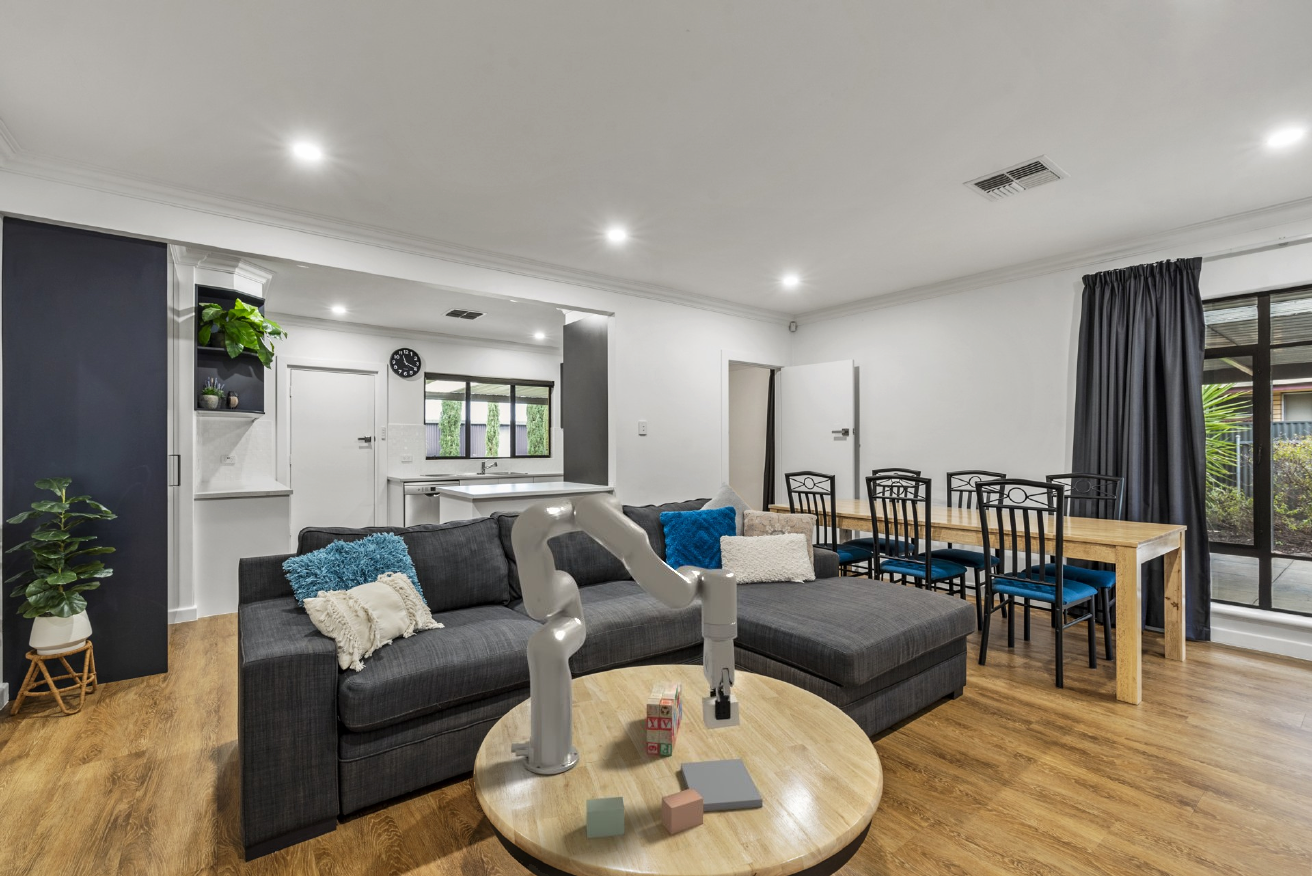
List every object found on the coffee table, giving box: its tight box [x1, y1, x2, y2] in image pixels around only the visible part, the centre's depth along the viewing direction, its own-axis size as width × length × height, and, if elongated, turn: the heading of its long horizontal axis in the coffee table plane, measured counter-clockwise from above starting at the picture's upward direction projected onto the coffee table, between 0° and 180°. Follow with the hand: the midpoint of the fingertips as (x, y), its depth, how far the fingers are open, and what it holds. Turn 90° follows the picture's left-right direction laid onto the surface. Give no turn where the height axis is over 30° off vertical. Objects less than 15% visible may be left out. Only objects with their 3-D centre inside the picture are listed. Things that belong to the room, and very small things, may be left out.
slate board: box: [680, 758, 763, 813], centre depth 133 cm, size 14×16×2 cm
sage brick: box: [585, 796, 625, 839], centre depth 118 cm, size 7×4×5 cm, turn 98°
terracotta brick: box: [661, 788, 704, 835], centre depth 120 cm, size 7×4×5 cm, turn 118°
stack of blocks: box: [645, 680, 683, 757], centre depth 157 cm, size 21×6×12 cm, turn 171°
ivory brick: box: [701, 693, 741, 730], centre depth 133 cm, size 7×4×5 cm, turn 98°
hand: (720, 713), depth 133 cm, fingers closed on ivory brick, 4 cm apart
